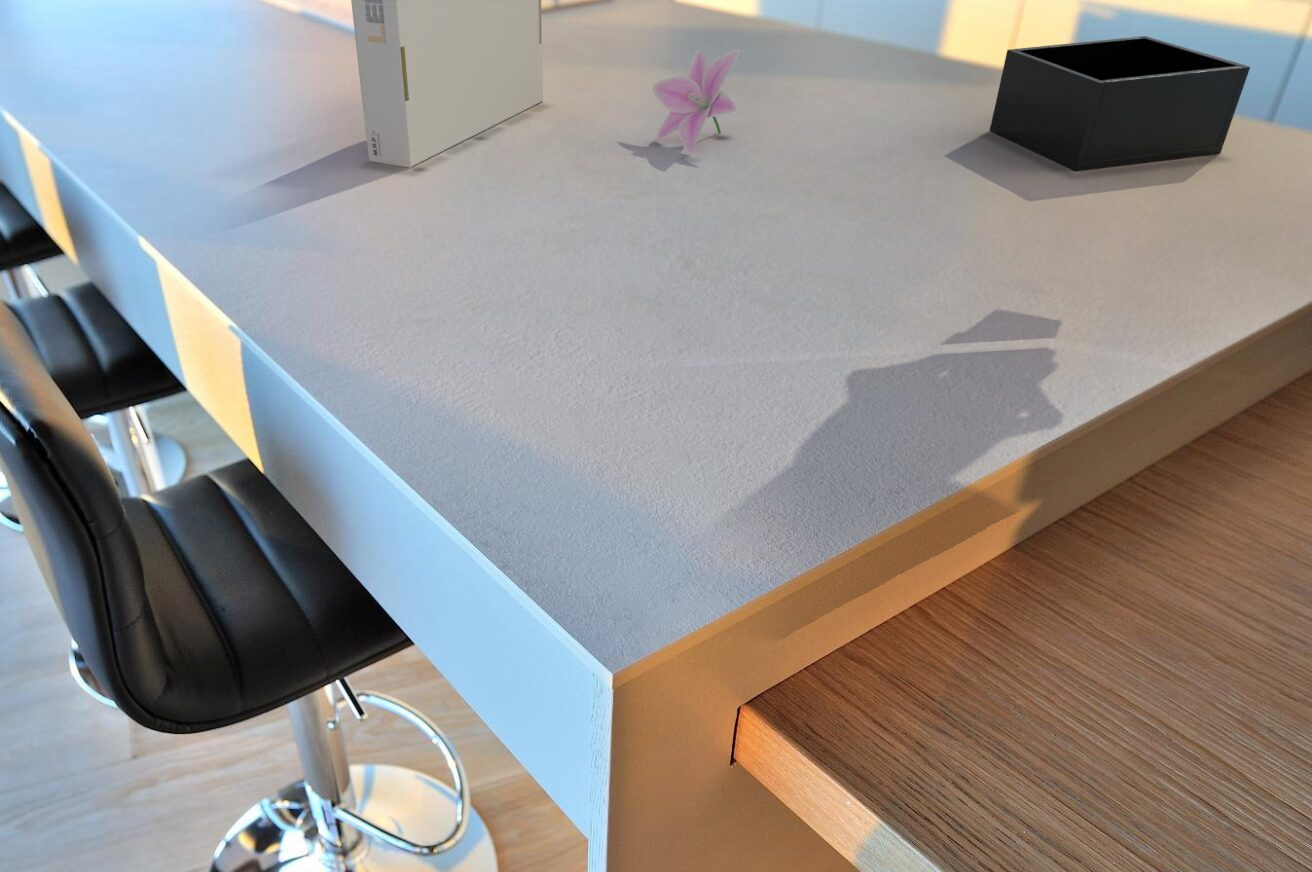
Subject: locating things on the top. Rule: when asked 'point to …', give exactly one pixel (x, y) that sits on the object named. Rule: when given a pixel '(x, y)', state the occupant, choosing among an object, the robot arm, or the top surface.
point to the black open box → (1117, 101)
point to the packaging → (443, 71)
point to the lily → (695, 97)
